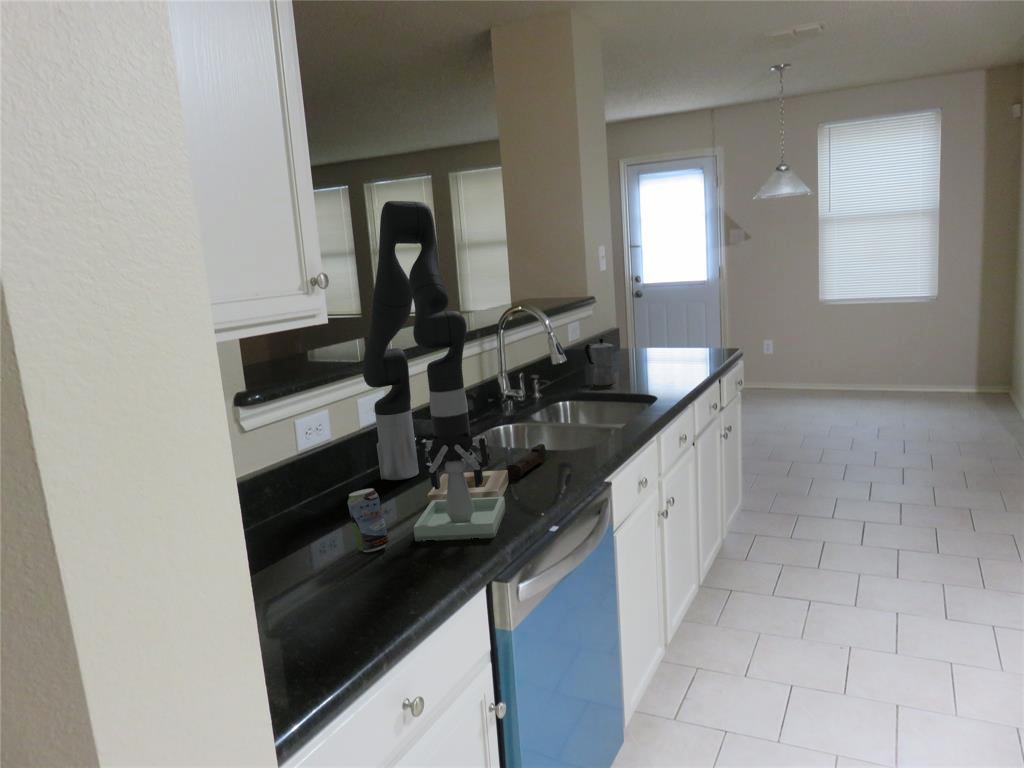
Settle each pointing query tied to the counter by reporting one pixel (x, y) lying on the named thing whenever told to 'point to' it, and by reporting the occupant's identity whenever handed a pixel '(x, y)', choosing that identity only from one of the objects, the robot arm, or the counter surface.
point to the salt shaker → (458, 493)
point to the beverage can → (367, 520)
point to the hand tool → (527, 462)
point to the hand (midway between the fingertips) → (458, 487)
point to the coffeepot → (601, 362)
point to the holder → (490, 486)
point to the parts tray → (442, 528)
